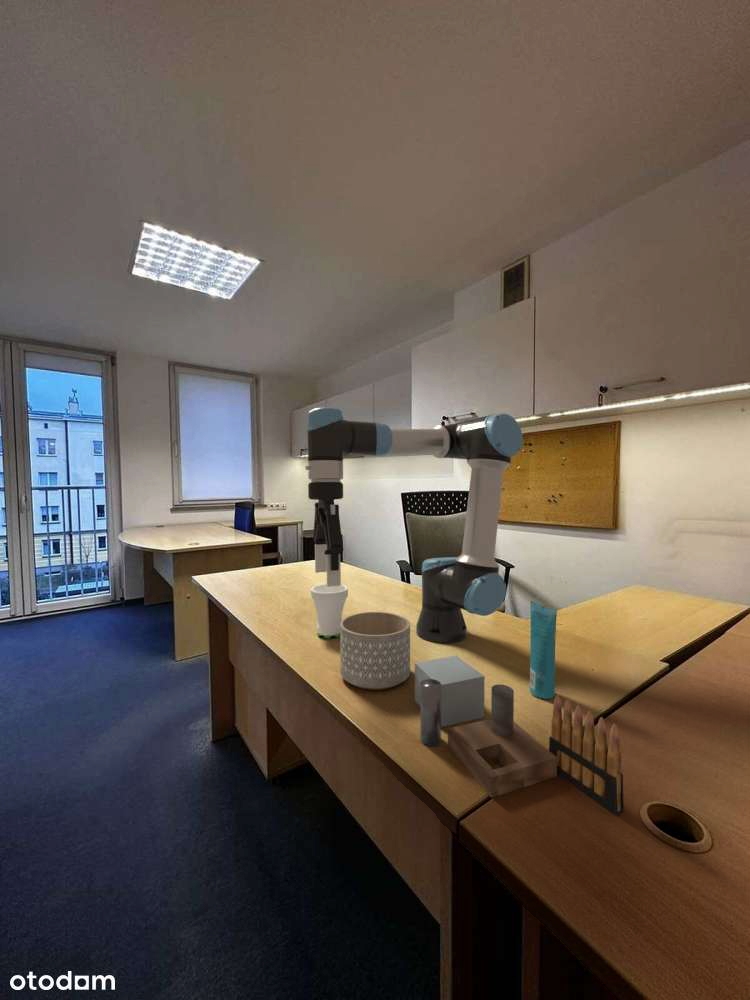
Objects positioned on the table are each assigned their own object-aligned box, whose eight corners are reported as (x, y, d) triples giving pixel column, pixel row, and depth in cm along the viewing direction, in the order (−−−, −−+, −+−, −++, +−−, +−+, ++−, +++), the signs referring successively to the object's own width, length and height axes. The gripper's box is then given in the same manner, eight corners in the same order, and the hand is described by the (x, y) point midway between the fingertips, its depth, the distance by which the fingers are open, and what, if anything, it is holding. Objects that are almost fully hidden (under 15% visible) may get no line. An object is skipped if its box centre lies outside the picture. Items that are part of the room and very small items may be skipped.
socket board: (505, 730, 71) (505, 677, 71) (556, 776, 60) (557, 712, 60) (447, 746, 67) (448, 688, 67) (491, 798, 56) (492, 729, 56)
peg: (434, 731, 71) (434, 677, 71) (444, 743, 68) (445, 687, 67) (416, 736, 70) (416, 681, 70) (426, 748, 67) (426, 691, 66)
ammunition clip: (547, 767, 62) (548, 692, 62) (555, 763, 63) (556, 690, 63) (616, 816, 53) (618, 729, 52) (624, 811, 54) (625, 725, 53)
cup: (328, 625, 126) (328, 581, 126) (355, 633, 120) (355, 586, 119) (303, 636, 117) (302, 589, 117) (330, 645, 110) (330, 595, 110)
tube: (564, 699, 82) (565, 608, 81) (548, 704, 80) (549, 611, 79) (535, 683, 89) (536, 599, 88) (520, 688, 87) (520, 602, 86)
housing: (456, 691, 85) (456, 655, 85) (484, 717, 76) (484, 676, 75) (414, 700, 82) (414, 662, 81) (438, 728, 72) (438, 685, 72)
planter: (424, 676, 92) (424, 622, 92) (374, 702, 81) (374, 642, 80) (375, 654, 104) (375, 607, 104) (326, 675, 93) (326, 622, 92)
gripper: (300, 482, 95) (301, 568, 96) (318, 480, 72) (320, 594, 73) (330, 481, 98) (331, 566, 99) (358, 480, 74) (359, 591, 75)
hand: (327, 578), depth 86 cm, fingers open, 13 cm apart
